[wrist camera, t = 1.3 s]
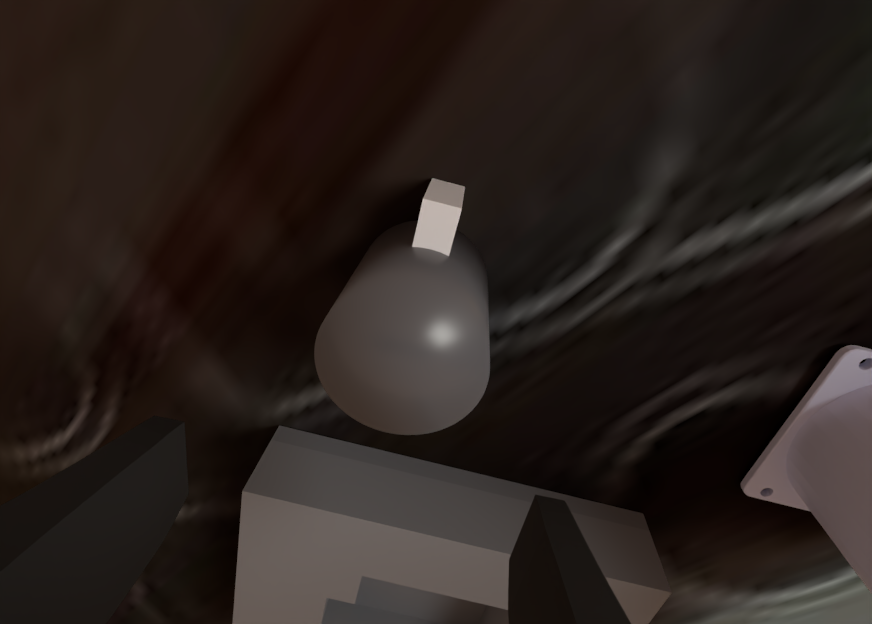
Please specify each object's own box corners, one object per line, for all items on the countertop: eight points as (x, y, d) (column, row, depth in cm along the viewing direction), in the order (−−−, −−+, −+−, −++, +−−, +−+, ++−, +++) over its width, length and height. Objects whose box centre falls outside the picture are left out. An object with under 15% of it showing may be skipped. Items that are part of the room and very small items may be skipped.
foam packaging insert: (643, 513, 24) (671, 592, 20) (546, 666, 30) (555, 747, 26) (279, 425, 23) (242, 490, 19) (259, 600, 29) (229, 673, 26)
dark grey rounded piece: (468, 350, 20) (463, 451, 15) (351, 321, 20) (304, 412, 15) (516, 200, 17) (531, 259, 12) (380, 164, 17) (334, 208, 12)
